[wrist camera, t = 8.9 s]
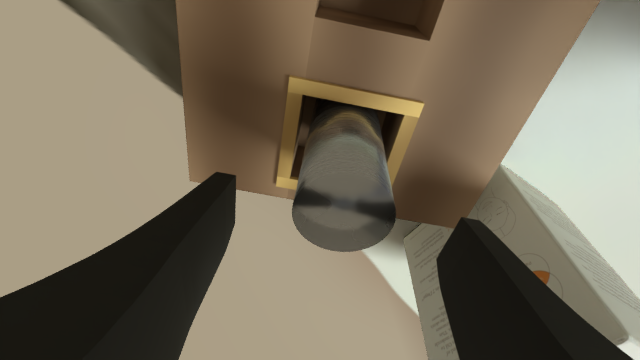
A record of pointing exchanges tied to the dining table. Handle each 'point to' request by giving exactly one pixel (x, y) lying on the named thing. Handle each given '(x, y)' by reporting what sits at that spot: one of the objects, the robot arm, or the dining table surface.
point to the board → (370, 87)
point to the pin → (344, 180)
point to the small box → (528, 265)
